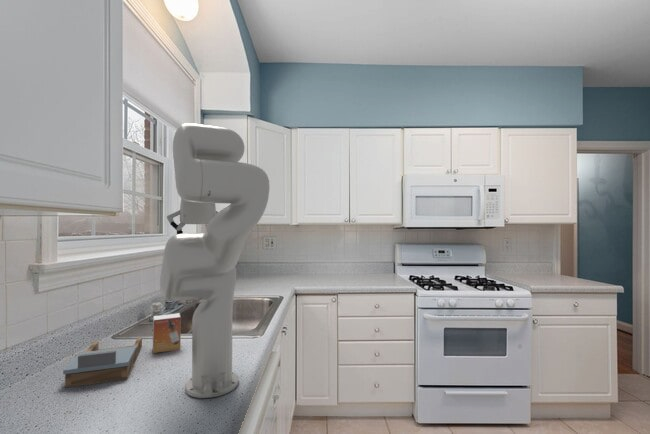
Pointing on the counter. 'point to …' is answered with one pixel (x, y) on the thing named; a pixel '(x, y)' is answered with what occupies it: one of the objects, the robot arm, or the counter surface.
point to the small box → (166, 332)
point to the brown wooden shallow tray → (102, 370)
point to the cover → (100, 360)
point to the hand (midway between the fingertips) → (197, 243)
